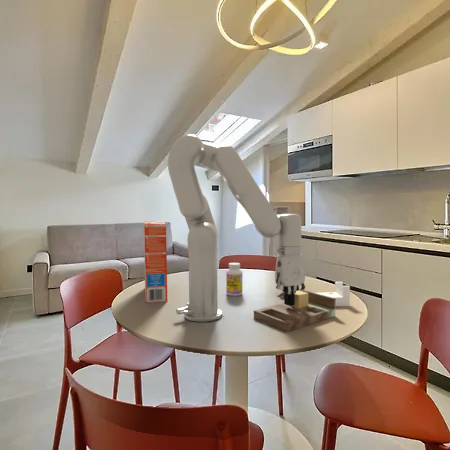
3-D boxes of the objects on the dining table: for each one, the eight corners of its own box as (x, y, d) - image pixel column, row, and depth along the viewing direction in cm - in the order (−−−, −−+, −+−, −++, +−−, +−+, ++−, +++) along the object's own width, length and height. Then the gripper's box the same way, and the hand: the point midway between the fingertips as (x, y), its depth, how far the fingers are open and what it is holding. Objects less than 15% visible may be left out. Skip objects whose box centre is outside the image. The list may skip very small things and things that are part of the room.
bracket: (341, 300, 134) (341, 281, 133) (349, 306, 127) (349, 286, 126) (308, 302, 133) (308, 282, 132) (315, 307, 126) (315, 287, 125)
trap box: (287, 331, 102) (287, 311, 101) (253, 318, 114) (253, 300, 114) (335, 316, 116) (335, 298, 115) (300, 305, 128) (300, 289, 127)
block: (298, 308, 116) (299, 295, 116) (289, 305, 120) (289, 292, 119) (308, 306, 118) (308, 293, 118) (298, 302, 122) (298, 290, 122)
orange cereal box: (167, 301, 133) (166, 224, 131) (146, 303, 132) (144, 224, 129) (163, 287, 156) (162, 220, 154) (145, 288, 154) (143, 221, 152)
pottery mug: (275, 299, 137) (272, 279, 141) (281, 304, 145) (278, 285, 149) (305, 294, 133) (301, 273, 137) (309, 299, 141) (306, 279, 145)
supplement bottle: (223, 295, 142) (223, 264, 141) (230, 291, 148) (230, 261, 147) (238, 297, 139) (238, 265, 138) (244, 293, 145) (244, 262, 144)
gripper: (281, 254, 108) (281, 312, 109) (313, 250, 116) (312, 303, 118) (265, 251, 114) (265, 306, 115) (296, 247, 122) (296, 298, 124)
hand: (289, 304), depth 116 cm, fingers closed
